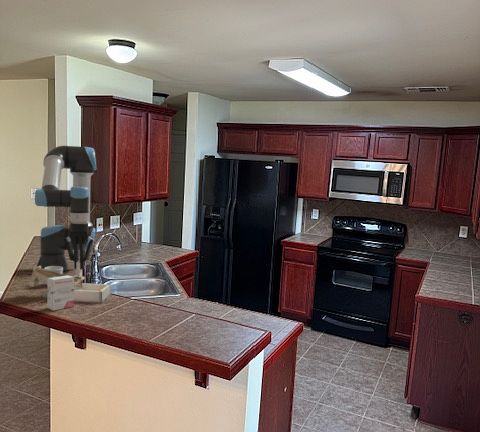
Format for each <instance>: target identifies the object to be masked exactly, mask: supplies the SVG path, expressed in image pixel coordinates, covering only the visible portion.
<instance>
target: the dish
mask: <svg viewBox="0 0 480 432" xmlns="http://www.w3.org/2000/svg"><path fill="white" fill-rule="evenodd" d="M99 289H102V290H101V291H97V290H99ZM111 295H112V284H108V283H107V284H106V283H105V284H103V283H84V282H82V283H81V288H80V289H75V290H74V302H75V303H76V302H78V303H79V302H80V303H98V304H99V303H100V304H102V303H103V302H105V301H106V300H107V299H108V298H109V297H110V296H111ZM106 298H107V299H106ZM105 299H106V300H105Z"/></svg>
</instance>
